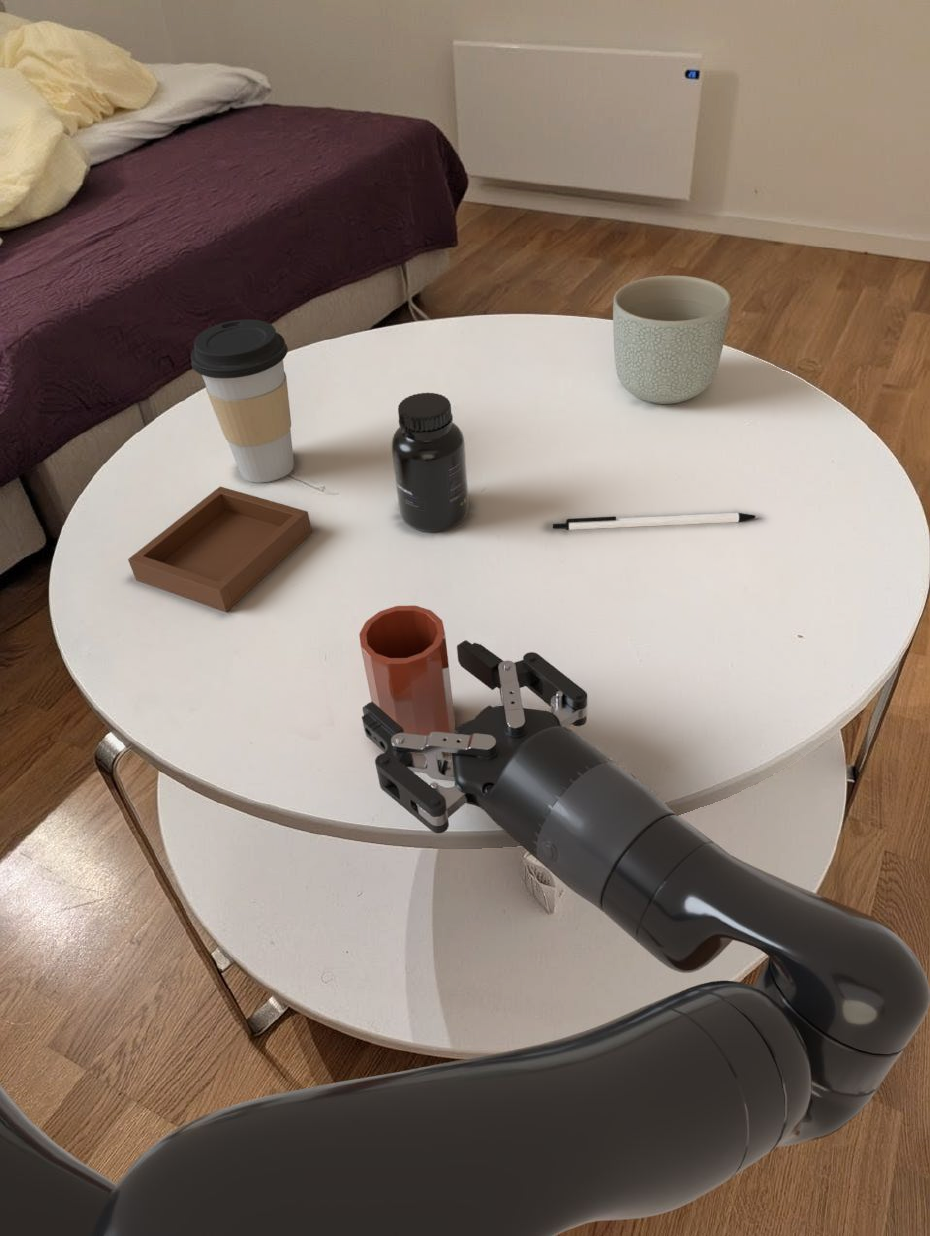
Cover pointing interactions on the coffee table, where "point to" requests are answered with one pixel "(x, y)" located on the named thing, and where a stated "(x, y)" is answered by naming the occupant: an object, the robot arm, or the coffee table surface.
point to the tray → (221, 548)
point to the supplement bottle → (429, 464)
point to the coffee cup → (249, 394)
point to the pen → (651, 521)
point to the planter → (669, 336)
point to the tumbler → (409, 668)
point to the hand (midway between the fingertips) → (416, 680)
